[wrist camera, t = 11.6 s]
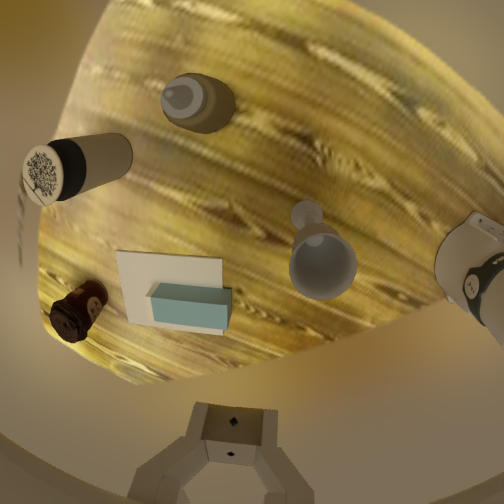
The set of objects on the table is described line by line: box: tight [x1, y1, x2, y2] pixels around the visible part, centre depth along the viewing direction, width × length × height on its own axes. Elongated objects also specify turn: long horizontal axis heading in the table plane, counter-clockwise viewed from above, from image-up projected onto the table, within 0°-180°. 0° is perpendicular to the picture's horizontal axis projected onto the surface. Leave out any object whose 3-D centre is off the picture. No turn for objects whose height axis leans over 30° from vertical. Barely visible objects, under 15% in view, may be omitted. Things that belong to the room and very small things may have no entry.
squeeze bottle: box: [161, 73, 235, 134], centre depth 31 cm, size 8×8×18 cm
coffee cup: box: [50, 279, 108, 343], centre depth 48 cm, size 9×8×13 cm
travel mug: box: [23, 133, 132, 206], centre depth 34 cm, size 8×8×18 cm
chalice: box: [289, 200, 357, 300], centre depth 36 cm, size 7×7×18 cm
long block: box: [145, 282, 232, 330], centre depth 49 cm, size 5×5×14 cm
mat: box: [115, 250, 224, 335], centre depth 52 cm, size 20×16×1 cm
